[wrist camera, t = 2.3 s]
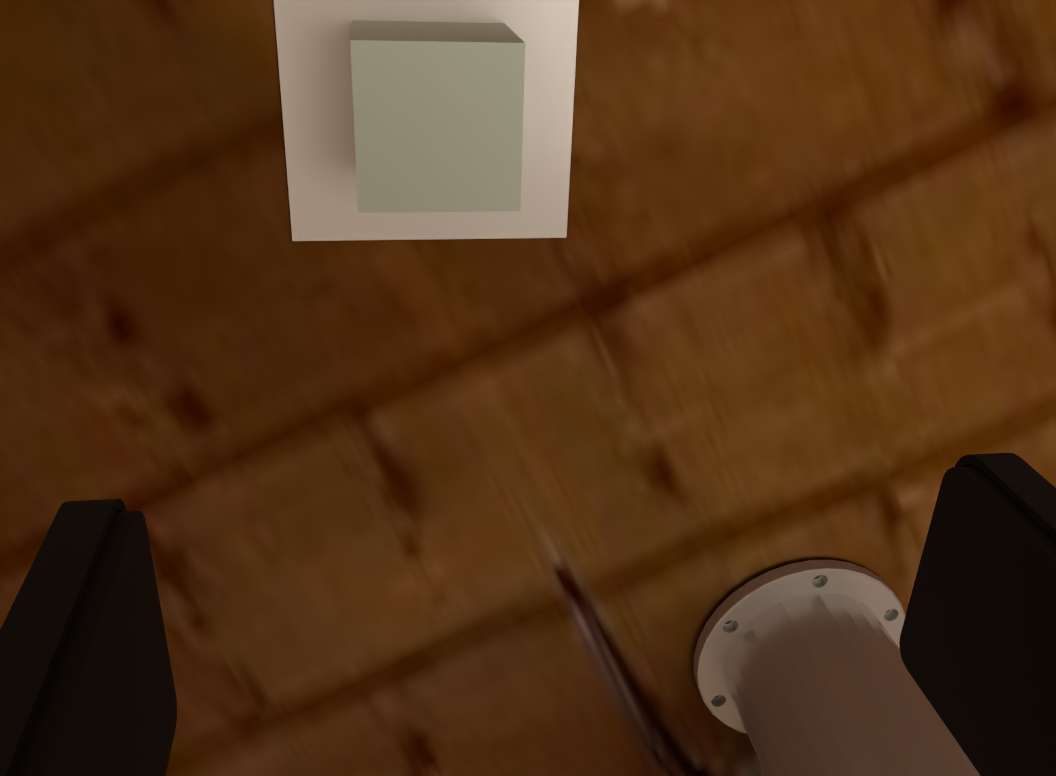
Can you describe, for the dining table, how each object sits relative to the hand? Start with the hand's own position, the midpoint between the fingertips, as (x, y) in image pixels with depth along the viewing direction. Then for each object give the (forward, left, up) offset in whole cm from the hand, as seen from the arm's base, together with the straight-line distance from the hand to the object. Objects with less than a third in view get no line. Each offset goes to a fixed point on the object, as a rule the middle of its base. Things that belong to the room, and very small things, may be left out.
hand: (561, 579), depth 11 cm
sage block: (0, 0, -32) cm, 32 cm away
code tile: (0, 0, -33) cm, 33 cm away
